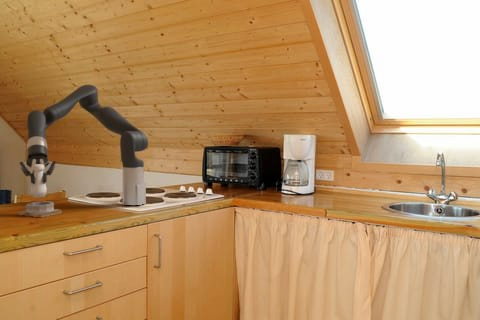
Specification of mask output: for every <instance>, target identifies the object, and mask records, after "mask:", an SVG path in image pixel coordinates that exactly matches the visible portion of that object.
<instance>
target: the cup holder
mask: <svg viewBox="0 0 480 320" xmlns="http://www.w3.org/2000/svg"><path fill="white" fill-rule="evenodd" d="M54 207H55V203H54V201H43V200H42V201H33V202H27V203H26V204H25V209H24V210H21V211H18V212H17V214H18V216H22V215H25V216H24V217H30V216H33V218H38V217H42V218H45V216H46V217H51V216H53V215H59V214H62V210H61V209H55V208H54ZM50 215H51V216H50Z"/></svg>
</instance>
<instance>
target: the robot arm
mask: <svg viewBox="0 0 480 320" xmlns="http://www.w3.org/2000/svg"><path fill="white" fill-rule="evenodd" d="M98 93H99V91H98V88H97V87H96V86H95V85H92V84H84V85H81V86H79V87H78V88H76V89H75V90H73V91H72V92H71V93H70V94H68V95H67V96H66V97H64V98H63V99H61V100H59V101H58V102H55V103H53V104H52V105H50V106H47V107H45V108H44V110H43V111H41V110H39V109H38V110H37V109H33V110H31V111H30V112H29V113H28V114H27V120H26V128H27V131H28V132H27V144H26V145H27V146H26V153H27V155H26V161H24V162H23V161H20V162H19V168H20V170H21V171H22V172H23V174H24V175H25V176H26V177H30V183H31V184H32V183H33V184H35V176H34V170H32V166H33V165H35V164H42V165H44V170H43V184H46V183H47V181H48V179H47V177H48V176H51V175H52V174H53V171H54V170H55V168H56V167H57V166H56V165H57V162H56V161H55V160H53V161H50V159H49V154H48V148H49V147H48V143H47V134H46V131H47V129H48V128H49V127H51V126H52V125H53V124H54V123H55V122H57V121H59V120H61V119H63V118H65V117H66V116H67V115H68V114H69V113H70V112H71V111H72V110H73V108H74V107H75V106H76V105H77V104H79V106H80V107H81V108H82V109H83V110H85V111H86V112H87V113H89V114H90V115H92V116H93V117H94V118H95V119H96V120H97V121H98V122H99V123H100V124H101V125H102V126H103V127H104V128H106V130H109V131H111V133H114V134H117V135H119V136H120V139H119V145H120V146H119V149H120V160H121V163H122V205H123V206H124V205H141V206H143V205H142V204H144V205H146V203H147V198H146V197H147V194H146V193H147V192H146V190H147V189H146V187H147V186H146V185H147V184H146V183H145V180H144V179H145V177H144V176H145V175H144V172H145V168H144V167H145V166H144V165H145V162H144V160H142V159H141V158H138V157H137V156H136V153H137V152H143V151H145V150H147V148H148V146H149V140H148V137H147V135H146V133H144V132H143V131H142V130H140V129H138V128H137V127H136V126H134V125H133V124H132V123H131V122H129V120H127V119H126V118H125V117H123V116H122V115H121V113H119V112H118V111H117V110H116V109H115V108H113V107H112V106H111V107H110V106H102V105H100V102H99V94H98ZM48 165H49V168H48V169H47V170H46V168H47V167H48ZM27 166H28V167H29V168H30V171H29V169H28V168H27Z"/></svg>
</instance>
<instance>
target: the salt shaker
mask: <svg viewBox="0 0 480 320" xmlns="http://www.w3.org/2000/svg"><path fill="white" fill-rule="evenodd" d="M32 170H34V176H35V184H33V183H31V188H30V194H31V196H32V197H33V198H35V199H36V198H37V199H38V198H44V197H45V196H46V194H47V191H48V190H47V189H48V188H47V185H46V183H45V184H43V170H44V165H42V164H35V165H33V166H32Z"/></svg>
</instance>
